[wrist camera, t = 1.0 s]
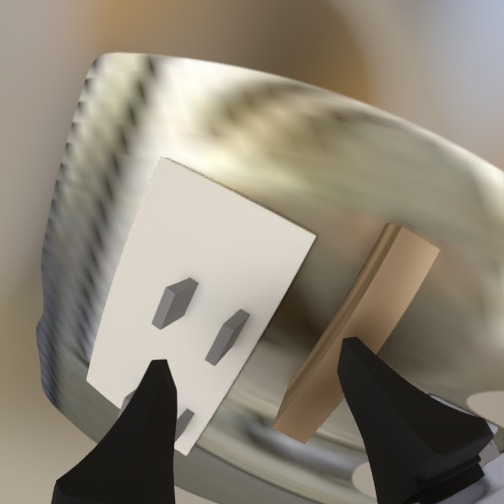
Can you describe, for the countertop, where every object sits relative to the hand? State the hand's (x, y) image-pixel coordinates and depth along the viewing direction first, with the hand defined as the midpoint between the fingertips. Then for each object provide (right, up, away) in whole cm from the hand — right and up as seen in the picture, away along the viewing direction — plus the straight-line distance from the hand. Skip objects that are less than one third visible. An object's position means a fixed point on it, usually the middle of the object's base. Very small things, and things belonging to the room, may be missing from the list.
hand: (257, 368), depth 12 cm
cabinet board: (-7, -2, +13) cm, 15 cm away
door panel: (+7, 0, +9) cm, 11 cm away
